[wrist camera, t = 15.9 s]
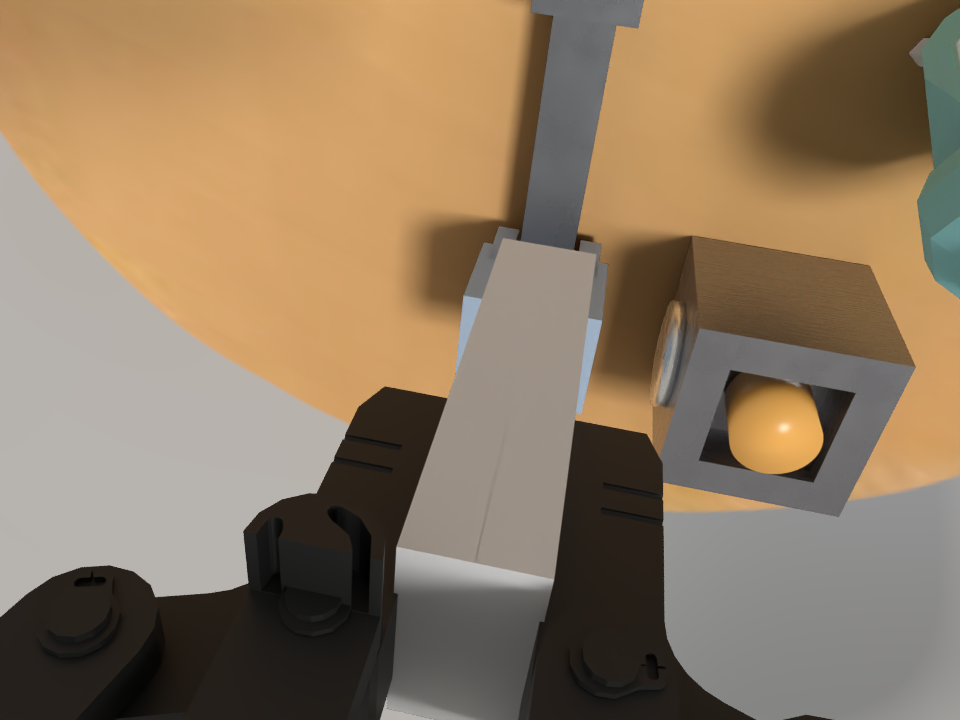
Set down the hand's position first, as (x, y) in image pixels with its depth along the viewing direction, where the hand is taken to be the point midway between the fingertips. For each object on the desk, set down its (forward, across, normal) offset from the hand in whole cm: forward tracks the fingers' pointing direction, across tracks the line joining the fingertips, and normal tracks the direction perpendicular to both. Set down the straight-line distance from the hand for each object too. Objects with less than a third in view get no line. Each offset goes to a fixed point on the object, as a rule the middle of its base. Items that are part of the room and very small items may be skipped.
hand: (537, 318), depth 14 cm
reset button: (+25, +12, -18) cm, 33 cm away
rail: (+32, -1, -11) cm, 34 cm away
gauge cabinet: (+32, +12, -18) cm, 39 cm away
